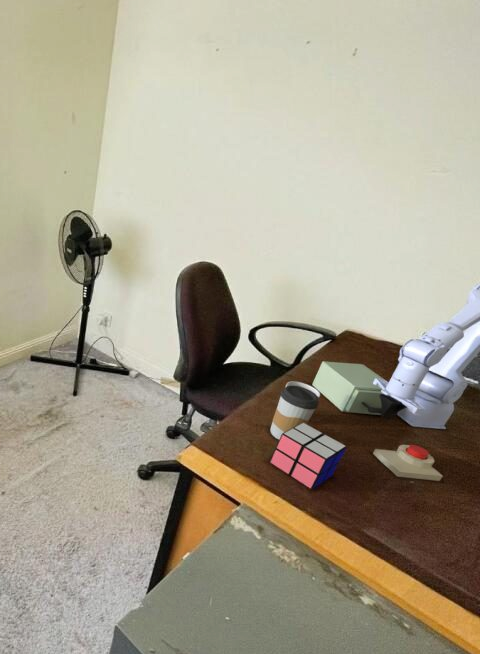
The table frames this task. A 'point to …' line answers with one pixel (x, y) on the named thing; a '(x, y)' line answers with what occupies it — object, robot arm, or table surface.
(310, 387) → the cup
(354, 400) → the pull-out drawer
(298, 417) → the coffee cup
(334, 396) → the mint drawer box
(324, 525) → the table surface
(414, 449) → the button
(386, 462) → the control block
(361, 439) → the table surface
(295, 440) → the puzzle cube
